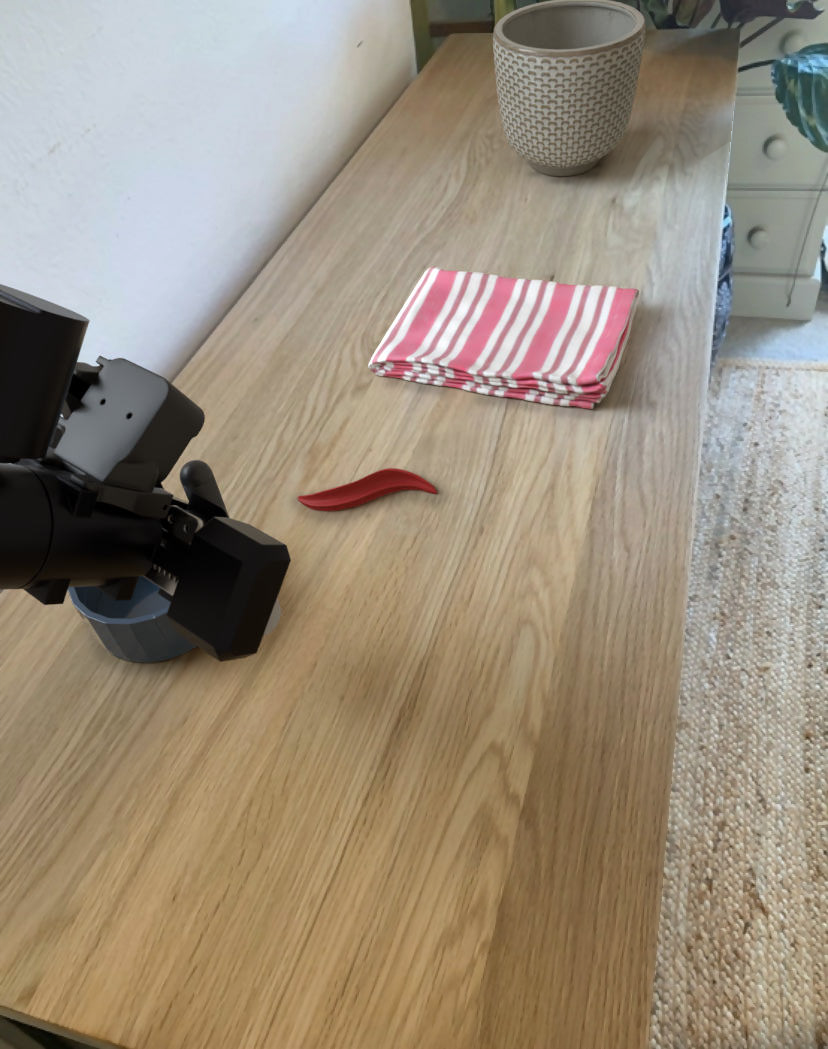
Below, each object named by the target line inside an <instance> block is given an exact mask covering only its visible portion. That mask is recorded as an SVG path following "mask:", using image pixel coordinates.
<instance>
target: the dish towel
mask: <svg viewBox="0 0 828 1049" xmlns="http://www.w3.org/2000/svg"><path fill="white" fill-rule="evenodd" d="M639 296H640V290H639V289H638V288H622V287H619V286H614V285H610V286H609V285H604V284H603V285H601V284H598V285H597V284H595V285H589V284H588V285H587V284H567V283H561V282H557V281H553V280H551V281H550V280H549V281H548V280H544V279H534V278H532V279H528V278H512V277H506V276H500V275H499V274H498V275H497V274H492V273H484V272H479V271H465V270H464V271H463V270H446V269H442V268H441V267H439V266H430V267H429V268H428V269H426V270H425V272H424V273H423V275H422V276H421V278H420V279H419V281H418V282H417V283H416V285H415V287H414V289H413V290H412V292H410V295H409V297H408V298H407V299H406V301H405V303H404V305H403V306H402V308H401V309H400V311H399V312H398V314H397V315H396V317H395V319H394V321H393V322H392V324H391V325H390V327H389V328H388V330H386V332H385V334H384V336H383V338H382V340H381V342H380V343H379V345H378V346H377V348H376V349H375V351H374V353H373V354H372V357H371V358H370V361H369V362H368V365H367V367H368V369H369V370H370V371H371V372H372V373H373V374H374V375H376V376H380V377H389V378H397V379H401V380H405V381H409V382H415V383H419V384H424V385H434V386H440V387H449V388H457V389H459V390H463V391H466V392H473V393H478V394H480V395H486V396H495V397H499V398H513V399H518V400H524V401H527V402H532V403H540V404H545V405H551V406H560V407H578V408H582V409H586V410H588V409H589V410H593V409H594V408H595V404H600V403H601V402H602V400H603V399H604V398H606V397H607V395H608V393H609V392H610V389H611V386H612V384H613V381H614V378H615V377H616V375H617V372H618V370H619V367H620V365H621V361H622V357H623V354H624V351H625V348H626V345H627V343H628V340H629V338H630V337H629V336H630V333H631V330H632V326H633V321H634V317H635V314H636V308H637V303H638V299H639Z"/></svg>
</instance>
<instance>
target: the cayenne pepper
mask: <svg viewBox="0 0 828 1049" xmlns="http://www.w3.org/2000/svg"><path fill="white" fill-rule="evenodd" d="M409 490H412V491H413V490H416V491H421V492H426V493H429V494H433V495H438V492H437V489H436V488H435V487H434V485H433V484H432V483H431V482H429V481H428V480H426V478H424V477H422V476H420V475H419V474H416V473H414V472H412V471H408V470H405V469H401V468H395V467H391V468H390V467H389V468H383V469H380V470H377V471H374V472H372V473H370V474H367V475H366V476H364V477H361V478H359V479H357V480H355V481H352V482H349V483H345V484H342V485H339V486H336V487H332V488H328V489H325V490H322V491H319V492H313V493H311V494H303V495H299V496H297V500H298V502H299V503H301V505H303V506H305V507H307V508H309V509H311V510H316V511H322V512H337V511H341V510H347V509H351V508H355V507H358V506H362V505H364V504H366V503H368V502H371V501H373V500H375V499H378V498H381V497H383V496H387V495H389V494H392V493H396V492H400V491H409Z"/></svg>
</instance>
